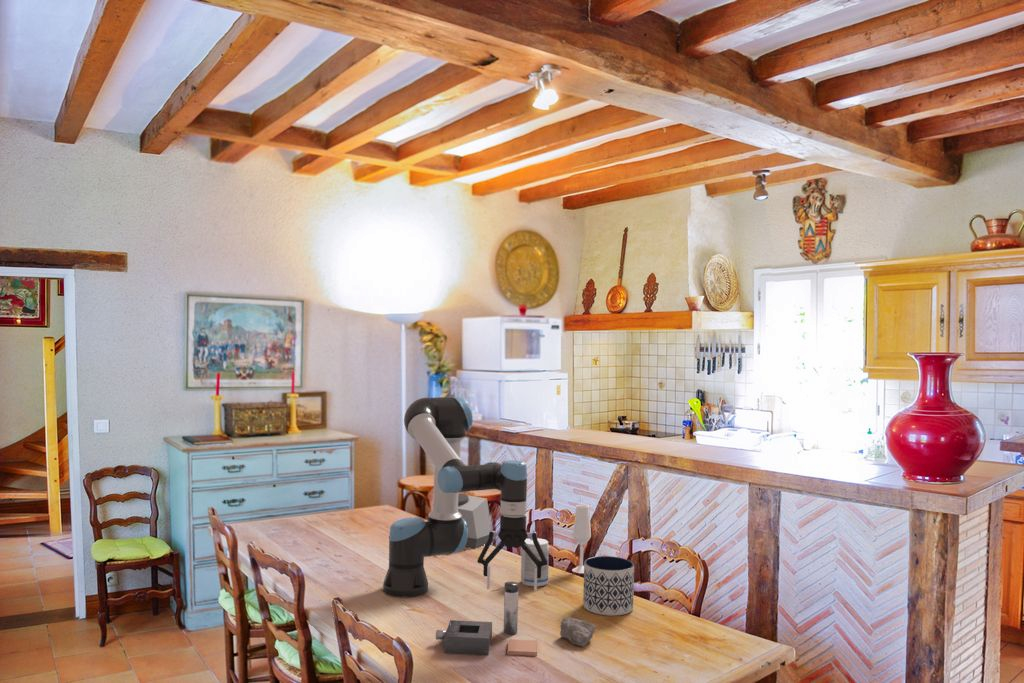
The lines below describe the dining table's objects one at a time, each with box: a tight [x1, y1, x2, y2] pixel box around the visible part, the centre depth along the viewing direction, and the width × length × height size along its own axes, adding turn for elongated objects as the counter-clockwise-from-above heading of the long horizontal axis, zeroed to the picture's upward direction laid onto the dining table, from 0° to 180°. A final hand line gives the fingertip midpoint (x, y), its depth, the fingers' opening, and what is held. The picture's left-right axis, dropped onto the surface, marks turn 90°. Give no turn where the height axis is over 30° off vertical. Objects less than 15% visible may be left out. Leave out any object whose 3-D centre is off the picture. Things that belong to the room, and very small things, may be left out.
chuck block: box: [435, 619, 493, 656], centre depth 210 cm, size 15×12×4 cm
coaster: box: [506, 638, 539, 657], centre depth 208 cm, size 8×8×1 cm
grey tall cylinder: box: [503, 581, 519, 636], centre depth 221 cm, size 4×4×14 cm
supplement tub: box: [520, 537, 550, 588], centre depth 266 cm, size 10×10×15 cm
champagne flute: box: [571, 504, 592, 574], centre depth 282 cm, size 7×7×24 cm
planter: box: [582, 555, 635, 617], centre depth 243 cm, size 16×16×14 cm
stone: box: [559, 617, 596, 648], centre depth 215 cm, size 10×8×6 cm
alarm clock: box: [458, 493, 494, 550], centre depth 319 cm, size 20×16×20 cm
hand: (512, 588), depth 220 cm, fingers open, 13 cm apart
